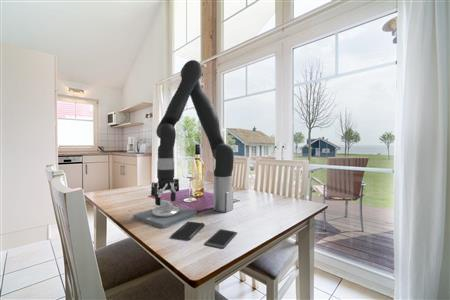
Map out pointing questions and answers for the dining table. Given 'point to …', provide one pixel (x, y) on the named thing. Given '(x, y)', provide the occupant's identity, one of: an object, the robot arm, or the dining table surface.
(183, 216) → the dial base
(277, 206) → the dining table surface
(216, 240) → the cell phone
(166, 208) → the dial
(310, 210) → the dining table surface
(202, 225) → the phone
